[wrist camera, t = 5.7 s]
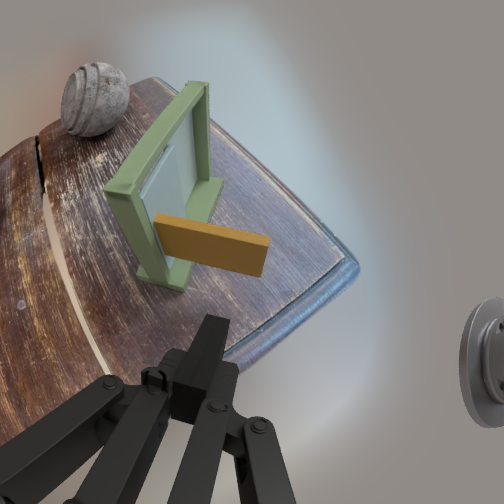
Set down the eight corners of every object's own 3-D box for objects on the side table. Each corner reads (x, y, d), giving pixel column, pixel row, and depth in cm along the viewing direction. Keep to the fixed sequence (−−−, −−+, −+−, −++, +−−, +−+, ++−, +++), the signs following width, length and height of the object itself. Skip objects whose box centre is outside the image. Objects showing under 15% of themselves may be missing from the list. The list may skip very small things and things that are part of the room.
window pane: (267, 242, 33) (286, 164, 23) (256, 292, 30) (273, 226, 19) (183, 223, 34) (169, 143, 23) (165, 270, 31) (135, 197, 20)
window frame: (223, 185, 40) (225, 83, 25) (184, 292, 31) (152, 198, 17) (185, 178, 40) (173, 79, 26) (139, 280, 32) (84, 186, 17)
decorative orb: (64, 132, 46) (44, 76, 33) (120, 102, 51) (109, 46, 38) (80, 162, 41) (53, 94, 28) (147, 125, 46) (135, 57, 33)
